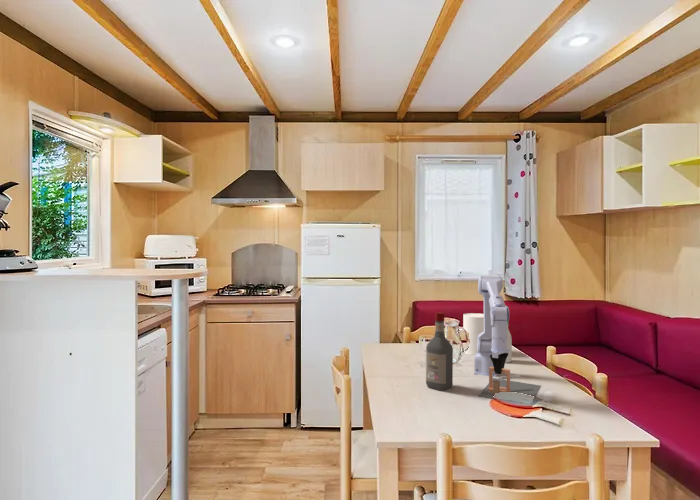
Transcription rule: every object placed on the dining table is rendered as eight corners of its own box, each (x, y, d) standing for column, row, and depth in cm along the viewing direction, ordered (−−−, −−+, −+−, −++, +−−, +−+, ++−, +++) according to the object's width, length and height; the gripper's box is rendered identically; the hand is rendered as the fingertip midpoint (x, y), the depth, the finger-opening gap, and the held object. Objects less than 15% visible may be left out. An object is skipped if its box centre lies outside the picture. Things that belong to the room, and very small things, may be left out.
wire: (492, 396, 166) (493, 381, 166) (501, 384, 179) (501, 371, 179) (512, 399, 162) (513, 384, 162) (520, 387, 175) (520, 373, 175)
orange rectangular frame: (508, 394, 167) (508, 371, 167) (488, 391, 171) (488, 368, 170) (510, 390, 171) (510, 368, 170) (490, 387, 175) (490, 365, 174)
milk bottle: (513, 360, 218) (513, 320, 218) (509, 364, 211) (510, 322, 211) (497, 358, 222) (497, 319, 222) (493, 361, 215) (493, 321, 215)
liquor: (443, 392, 171) (443, 315, 171) (423, 386, 177) (423, 312, 177) (454, 386, 178) (455, 312, 177) (435, 381, 184) (435, 310, 183)
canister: (458, 352, 234) (458, 315, 234) (471, 348, 243) (472, 312, 243) (480, 357, 224) (481, 318, 224) (494, 352, 233) (494, 315, 233)
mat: (478, 396, 166) (478, 395, 166) (493, 378, 188) (493, 378, 188) (531, 406, 157) (531, 404, 157) (541, 386, 178) (541, 385, 178)
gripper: (506, 342, 161) (505, 379, 161) (513, 335, 174) (513, 369, 174) (486, 340, 165) (486, 376, 165) (495, 333, 177) (495, 366, 177)
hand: (499, 372), depth 170 cm, fingers open, 3 cm apart
